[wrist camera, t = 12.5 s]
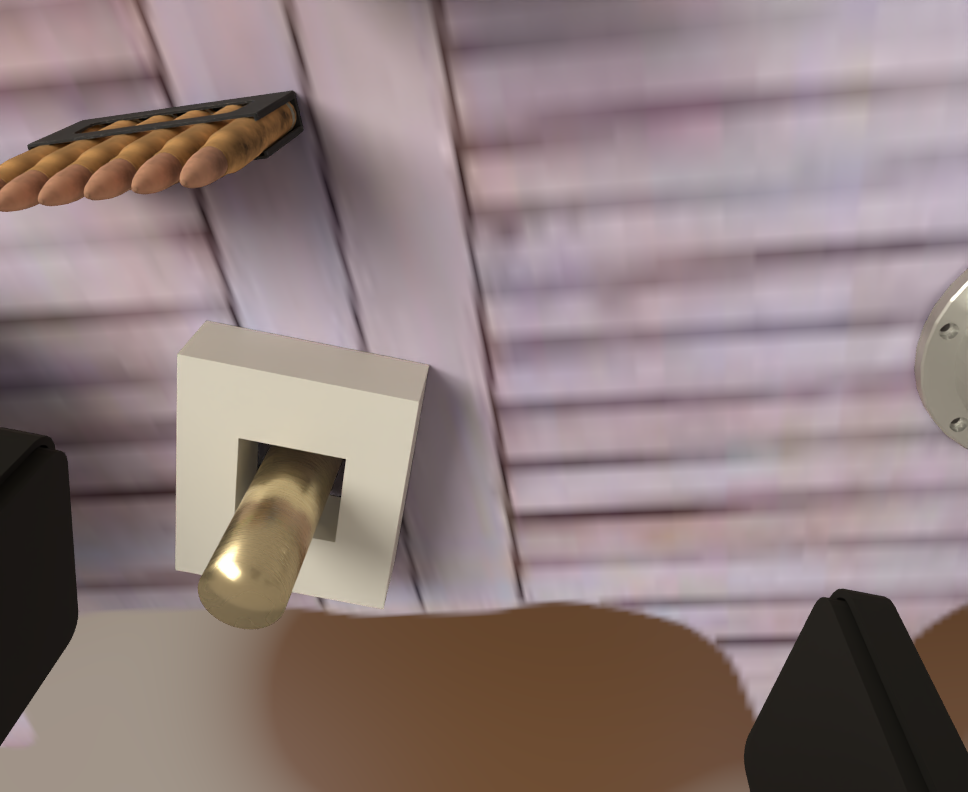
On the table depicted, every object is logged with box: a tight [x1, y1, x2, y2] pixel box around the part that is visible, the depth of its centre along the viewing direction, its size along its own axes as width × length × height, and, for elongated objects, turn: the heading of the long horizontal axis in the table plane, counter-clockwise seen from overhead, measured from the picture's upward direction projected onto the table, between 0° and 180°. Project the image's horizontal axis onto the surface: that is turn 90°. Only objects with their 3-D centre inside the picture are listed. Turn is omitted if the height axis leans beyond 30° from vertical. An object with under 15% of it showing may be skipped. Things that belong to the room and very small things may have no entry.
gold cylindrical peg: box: [198, 444, 343, 629], centre depth 44 cm, size 4×4×12 cm
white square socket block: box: [175, 321, 429, 609], centre depth 47 cm, size 12×14×4 cm
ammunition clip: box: [0, 91, 304, 212], centre depth 35 cm, size 11×2×12 cm, turn 98°
